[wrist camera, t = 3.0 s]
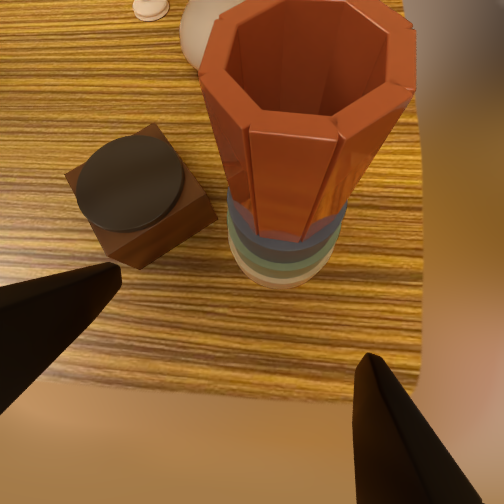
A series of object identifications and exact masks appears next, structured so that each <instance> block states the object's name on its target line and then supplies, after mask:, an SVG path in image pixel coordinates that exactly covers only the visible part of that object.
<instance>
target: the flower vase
mask: <svg viewBox="0 0 504 504" xmlns="http://www.w3.org/2000/svg"><path fill="white" fill-rule="evenodd" d="M243 1H245V0H188V3H187V5H186V7H185V9H184V11H183V14H182V18H181V23H180V28H179V38H180V44H181V49H182V53H183V54H184V56H185V58H186V59H187V61H188V63H189V64H190V65H191V66H193V67H194V68H195V69H196V70H197V71H198V70H199V67H200V64H201V61H202V58H203V55H204V51H205V48H206V45H207V42H208V39H209V36H210V33H211V29H212V26H213V23H214V20H215V19H219V15H220V14H221V13H223V12H225V11H227V10H228V9H230V8H232V7H234V6H236V5H238V4H240V3H241V2H243Z"/></svg>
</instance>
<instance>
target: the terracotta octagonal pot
mask: <svg viewBox="0 0 504 504" xmlns="http://www.w3.org/2000/svg"><path fill="white" fill-rule="evenodd" d="M412 27H413V24H412V23H411V22H409V21H408V20H407V19H405V18H404V17H402V16H401V15H400V14H398V13H397V12H395V11H394V10H393V9H391V8H390V7H388V6H387V5H386V4H384V3H383V2H381V1H380V0H245V1H243V2H241V3H240V4H238V5H236V6H234V7H232V8H230V9H228V10H227V11H225V12H223V13H221V14H220V15H219V19H215V20H214V23H213V26H212V29H211V33H210V36H209V39H208V42H207V45H206V48H205V51H204V55H203V58H202V61H201V64H200V67H199V70H198V76H199V83H200V86H201V90H202V93H203V97H204V100H205V104H206V107H207V111H208V114H209V118H210V121H211V125H212V129H213V132H214V136H215V139H216V143H217V146H218V150H219V153H220V157H221V160H222V164H223V167H224V171H225V174H226V178H227V181H228V185H229V188H230V192H231V195H232V199H233V202H234V206H235V208H236V209H237V211H238V212H239V213H240V215H241V216H242V217H243V219H244V220H245V221H246V223H247V224H248V225H249V227H250V228H251V229H252V231H253V232H254V233H255V235H258V234H259V237H262V238H269V239H276V240H282V241H289V242H296V243H299V242H300V240H301V242H304V241H305V240H307V239H308V238H309V237H311V236H312V235H314V234H315V233H317V232H318V231H320V230H321V229H322V228H324V227H325V226H327V225H328V224H330V223H331V222H332V221H334V219H335V218H336V216H337V215H338V213H339V212H340V210H341V208H342V207H343V205H344V204H345V202H346V201H347V199H348V197H349V196H350V194H351V193H352V191H353V190H354V188H355V187H356V185H357V183H358V182H359V180H360V179H361V177H362V176H363V174H364V172H365V171H366V169H367V168H368V166H369V165H370V163H371V161H372V160H373V158H374V157H375V155H376V154H377V152H378V151H379V149H380V147H381V146H382V144H383V143H384V141H385V140H386V138H387V136H388V135H389V133H390V132H391V130H392V129H393V127H394V125H395V124H396V122H397V121H398V119H399V118H400V116H401V115H402V113H403V111H404V110H405V108H406V107H407V105H408V104H409V102H410V100H411V99H412V97H413V94H414V93H415V91H416V30H414V29H412Z"/></svg>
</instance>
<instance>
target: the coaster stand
mask: <svg viewBox="0 0 504 504" xmlns="http://www.w3.org/2000/svg"><path fill="white" fill-rule="evenodd" d="M64 175H65V177H66V179H67V181H68V183H69V185H70V187H71V188H72V190H73V192H74V194H75V196H76V198H77V203H78V205H79V208H80V210H81V211H82V213H83V215H84V216H85V217H86V218H87V219H88V221H89V223H90V225H91V227H92V229H93V231H94V233H95V235H96V237H97V238H98V240H99V242H100V244H101V246H102V248H103V250H104V252H105V254H106V256H107V257H110V258H112V259H115V260H117V261H119V262H122V263H124V264H127V265H129V266H131V267H134V268H136V269H138V270H140V269H142V268H143V267H145V266H147V265H148V264H150V263H151V262H153V261H154V260H156V259H157V258H159V257H160V256H162V255H163V254H165V253H167V252H168V251H170V250H171V249H173V248H174V247H176V246H177V245H179V244H180V243H182V242H183V241H185V240H187V239H188V238H190V237H191V236H193V235H194V234H196V233H197V232H199V231H200V230H202V229H203V228H205V227H207V226H208V225H210V224H211V223H213V222H214V221H216V220H217V219H218V218H217V216H216V213H215V211H214V209H213V207H212V205H211V203H210V201H209V199H208V197H207V195H206V193H205V191H204V190H203V189H202V187H201V186H200V184H199V183H198V182H197V180H196V179H195V178H194V176H193V175H192V173H191V172H190V171H189V169H188V168H187V166H186V165H185V164H184V162H183V161H182V160H181V158H180V157H179V155H178V154H177V153H176V151H175V150H174V148H173V147H172V146H171V144H170V143H169V142H168V140H167V139H166V137H165V136H164V135H163V133H162V132H161V130H160V129H159V128H158V126H157V125H156V124H155V123H153V124H151V125H149V126H147V127H146V128H144V129H142V130H140V131H139V132H137V133H135V134H134V135H131V136H125V137H122V138H118V139H116V140H113V141H111V142H109V143H107V144H106V145H104V146H103V147H101V148H100V149H98V150H97V151H96V152H95V153H94V154H93V155H92V156H91V157H90V158H89V159H88V160H87V162H85V163H83V164H82V165H80V166H78V167H76V168H75V169H73V170H71V171H69V172H68V173H66V174H64Z"/></svg>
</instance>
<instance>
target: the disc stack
mask: <svg viewBox="0 0 504 504" xmlns="http://www.w3.org/2000/svg"><path fill="white" fill-rule="evenodd" d="M227 204H228V211H227V226H228V240H229V245H230V249H231V251H232V254H233V256H234V258H235V260H236V262H237V264H238V265H239V267H240V269H241V270H242V271H243V272H244V274H246V275H247V276H248V277H249V278H250V279H251V280H253V281H254V282H256V283H258V284H260V285H262V286H265V287H269V288H274V289H288V288H293V287H296V286H299V285H301V284H304V283H305V282H307V281H309V280H310V279H311V278H312V277H314V276H315V275H316V274H317V273H318V272H319V270H320V269H321V268H322V267H323V266H324V265H325V264H326V263H327V261H328V260H329V258H330V256H331V254H332V252H333V249H334V246H335V243H336V240H337V238H338V236H339V233H340V229H341V221H342V219H343V217H344V215H345V212H346V208H347V201H346V202H345V204H344V205H343V207H342V208H341V210H340V212H339V213H338V215H337V216H336V218H335V219H334V221H332V222H331V223H330V224H328V225H327V226H325V227H324V228H322V229H321V230H320V231H318V232H317V233H315V234H314V235H312V236H311V237H309V238H308V239H307V240H305V241H304V242H301V240H300V242H299V243H296V242H289V241H282V240H276V239H269V238H262V237H259V234H258V235H255V233H254V232H253V231H252V229H251V228H250V227H249V225H248V224H247V223H246V221H245V220H244V219H243V217H242V216H241V215H240V213H239V212H238V211H237V209H236V208H235V206H234V202H233V199H232V195H231V192H230V188H229V186H228V192H227Z"/></svg>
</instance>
